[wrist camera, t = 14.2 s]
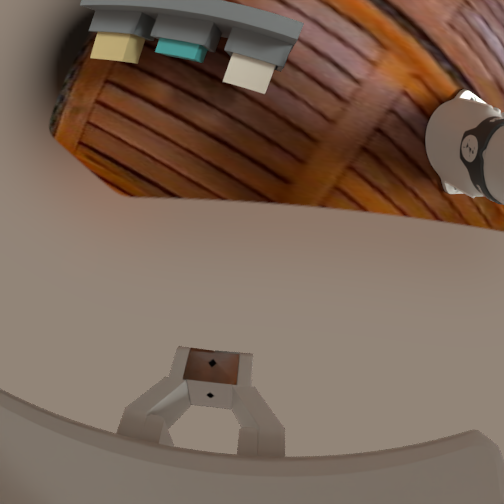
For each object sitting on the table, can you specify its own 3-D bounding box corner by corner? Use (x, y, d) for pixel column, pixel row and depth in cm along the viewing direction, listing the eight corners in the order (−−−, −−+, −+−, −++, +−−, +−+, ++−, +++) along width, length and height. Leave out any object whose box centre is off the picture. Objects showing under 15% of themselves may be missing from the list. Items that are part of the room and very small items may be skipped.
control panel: (292, 44, 35) (303, 23, 23) (280, 73, 37) (287, 65, 25) (131, 11, 32) (85, -10, 20) (121, 39, 34) (72, 27, 22)
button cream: (276, 63, 33) (277, 59, 29) (265, 94, 35) (264, 94, 31) (238, 52, 32) (235, 46, 28) (227, 83, 34) (222, 81, 30)
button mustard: (147, 34, 31) (132, 28, 26) (137, 63, 33) (122, 61, 29) (116, 31, 30) (99, 26, 26) (107, 59, 32) (90, 58, 28)
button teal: (213, 32, 31) (206, 25, 27) (202, 63, 33) (194, 59, 29) (178, 26, 30) (166, 18, 26) (167, 55, 33) (155, 52, 28)
